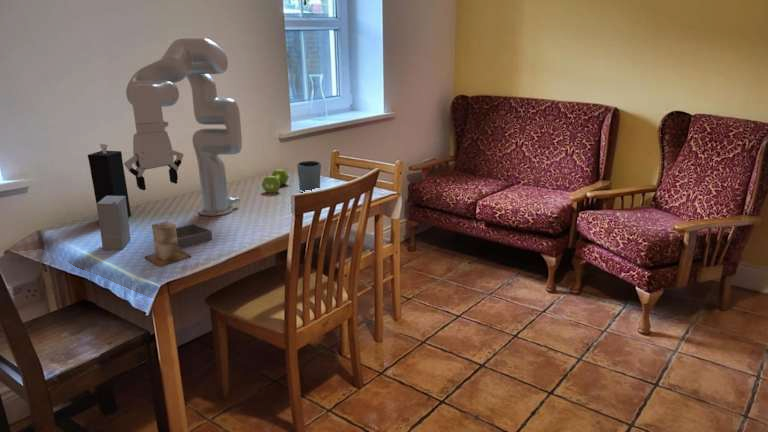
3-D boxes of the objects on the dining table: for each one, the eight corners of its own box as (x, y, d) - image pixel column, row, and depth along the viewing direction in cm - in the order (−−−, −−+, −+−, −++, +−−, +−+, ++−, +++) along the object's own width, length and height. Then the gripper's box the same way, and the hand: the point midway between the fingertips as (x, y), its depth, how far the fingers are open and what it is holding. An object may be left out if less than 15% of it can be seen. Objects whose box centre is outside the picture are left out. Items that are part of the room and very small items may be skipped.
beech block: (171, 251, 177) (167, 220, 174) (179, 255, 174) (175, 223, 171) (156, 255, 174) (151, 224, 170) (163, 260, 170) (159, 228, 167)
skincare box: (111, 241, 188) (103, 195, 183) (133, 240, 188) (126, 194, 183) (101, 250, 180) (93, 202, 175) (125, 249, 180) (117, 202, 175)
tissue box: (118, 222, 206) (105, 146, 198) (99, 221, 208) (85, 145, 199) (131, 216, 214) (119, 142, 205) (112, 215, 215) (100, 141, 206)
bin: (195, 231, 196) (194, 223, 195) (212, 239, 189) (211, 230, 188) (164, 240, 188) (162, 231, 187) (180, 248, 181) (179, 239, 180)
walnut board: (175, 249, 180) (175, 247, 180) (191, 257, 174) (191, 255, 174) (144, 258, 174) (144, 256, 173) (159, 266, 167) (159, 264, 167)
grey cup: (302, 187, 250) (300, 160, 247) (324, 187, 249) (323, 160, 245) (295, 193, 241) (294, 165, 237) (319, 194, 240) (317, 166, 236)
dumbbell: (279, 194, 241) (277, 177, 239) (260, 193, 242) (259, 177, 240) (290, 184, 256) (289, 168, 254) (273, 183, 257) (272, 168, 255)
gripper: (172, 122, 171) (179, 178, 176) (114, 130, 159) (123, 189, 164) (184, 125, 166) (191, 182, 171) (125, 133, 154) (135, 194, 159)
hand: (158, 186), depth 168 cm, fingers open, 9 cm apart
